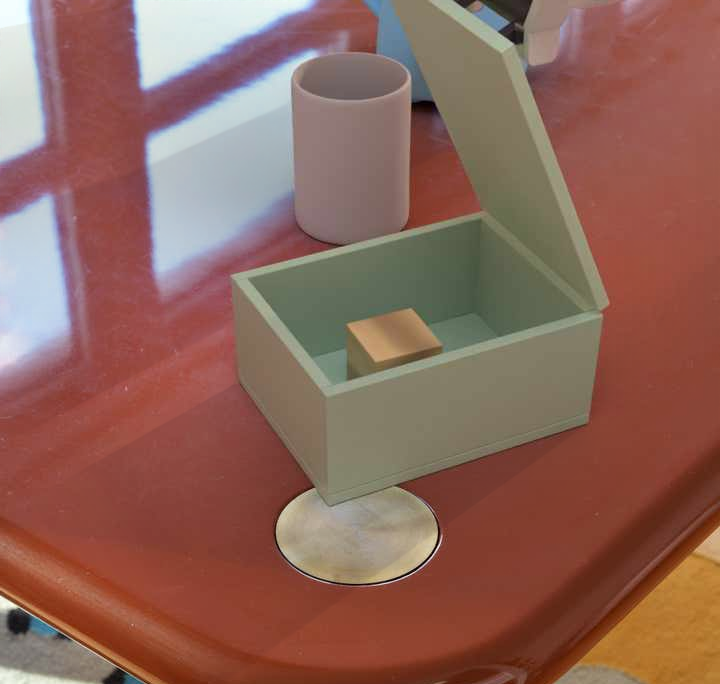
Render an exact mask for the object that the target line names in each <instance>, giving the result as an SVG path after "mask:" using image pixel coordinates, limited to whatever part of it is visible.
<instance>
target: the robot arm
mask: <svg viewBox="0 0 720 684" xmlns="http://www.w3.org/2000/svg"><path fill="white" fill-rule="evenodd" d="M625 1H627V0H533V2H532V4H531V7H530V10H529V12H528V15H527V18H526V20H525V21H521V22H517V23H515V27H514V38H515V43H514V46H515V48H516V51H517V54H518V56H519V57H520V58H521V59H523V60H524V61H525V62H527V63H528V65H530V66H531V67H536V66H537V67H538V66H540V65H545V64H550V63H552V62H554V61H555V59H556V58H557V57H558V54H559V46H560V37H561V27H563V25H564V24H565V22H566V20H567V18H568V17H569V14H570V13H571V11H572V9H573V8H574V9H576V10H590V9H594V8H599V7H600V8H601V7H605V6H609V5H613V4H618V3H622V2H625ZM483 6H484V4H482V3H481V2H479V1H478V0H476V1H475V2H473V3H472V4H471V5H469V6H468V7H467V8H465V9H466V10H467V11H468V12H470V13H475V12H479V11H480V10H481V9H482V8H483Z"/></svg>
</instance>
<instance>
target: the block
mask: <svg viewBox="0 0 720 684" xmlns="http://www.w3.org/2000/svg"><path fill="white" fill-rule="evenodd" d="M346 341H347V381H350V380H353V379H357V378H360V377H364V376H367V375H370V374H374V373H377V372H381V371H384V370H388V369H391V368H395V367H398V366H402V365H405V364H409V363H412V362H415V361H419V360H422V359H426V358H429V357H433V356H436V355H440V354H442V350H443V345H442V343H441V342H440V341H439V340H438V339H437V337H436V336H435V335H434V334H433V333H432V332H431V330H430V329H429V328H428V327H427V326H426V325H425V323H424V322H423V321H422V320H421V319H420V317H419V316H418V315H417V314H416V313H415V312H414V310H413V309H412V308H409V309H405V310H401V311H397V312H393V313H389V314H385V315H381V316H376V317H372V318H368V319H364V320H360V321H356V322H352V323H348V324H346Z"/></svg>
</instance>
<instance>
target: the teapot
mask: <svg viewBox="0 0 720 684" xmlns="http://www.w3.org/2000/svg"><path fill="white" fill-rule="evenodd" d="M361 2H362V3H363V4H364V5H365V7H367V8H368V10H369V11H370V12H371V13H372V14H373V15H374V17H375V18H376V19H377V20H378V25H377V36H376V51H375V54H376V55H381V56H385V57H388V58H391V59H393V60H395V61H397V62H399V63H401V64H402V65H404V66H405V67H406V68H407V70H408V71H409V73H410V76H411V103H418V102H422V101H429V102H435V101H434V99H433V97H432V94H431V92H430V90H429V88H428V85H427V83H426V81H425V79H424V76H423V74H422V72H421V69H420V67H419V65H418V63H417V60H416V58H415V56H414V54H413V51H412V49H411V47H410V44H409V42H408V40H407V38H406V35H405V33H404V31H403V29H402V26H401V24H400V22H399V20H398V17H397V15H396V13H395V10H394V8H393V6H392V4H391V1H390V0H361ZM471 14H473V15H474V16H476V17H477V18H478V19H480V20H481V21H483V22H484V23H485V24H487V25H488V26H490V27H491V28H493V29H494V30H495V31H497V32H498V31H499V30H501V29H502V28H503V27H505V26H506V25H508V24H509V23H510V22H509V21H507V20H506V19H504V18H503V17H501V16H500V15H498V14H497V13H495V12H494V11H493V10H491V9H490V8H488V7H487V6H485V5H484V6H483V8H482V9H481V10H480V11H479V12H475V13H471ZM514 43H515V42H514ZM518 57H519V56H518ZM519 59H520V62H521V65H522V67H523V70H524V73H525V74H526V72H527V69H528V65H529V64H528V63H527V62H525V61H524V60H523V59H521V58H520V57H519Z"/></svg>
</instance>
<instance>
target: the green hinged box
mask: <svg viewBox="0 0 720 684" xmlns="http://www.w3.org/2000/svg"><path fill="white" fill-rule="evenodd" d="M230 287H231V300H232V301H231V302H232V313H233V314H232V316H233V325H234V326H233V327H234V338H235V350H236V351H235V354H236V364H237V365H236V366H237V377H238V379H237V381H238V383H240V385H241V386H242V388H243V389H244V391H245V392H246V394H248V396H249V398H250V399H251V400H252V402H253V403H254V404H255V406H256V407H257V409H258V410H259V411H260V413H261V414H262V415H263V417H264V418H265V419H266V421H267V422H268V424H269V425H270V427H271V429H273V430H274V432H275V433H276V435H277V436H278V437H279V439H280V441H281V442H282V443H283V445H284V446H285V448H286V449H287V450H288V451H289V453H290V454H291V455H292V457H293V459H294V460H295V461H296V462H297V464H298V465H299V467H300V468H301V470H302V471H303V472H304V473H305V475H306V476H307V478H308V479H309V480H310V482H311V483H312V484H313V487H314V488H315V489H316V490H317V492H318V493H319V495H320V496H321V497H322V499H323V500H324V502H325V503H326V504H327V506H329V507H330V506H331V507H332V506H335V505H338V504H340V503H343V502H347V501H349V500H350V501H351V500H353V499H356V498H359V497H362V496H365V495H366V496H367V495H369V494H371V493H375V492H378V491H381V490H384V489H387V488H391V487H393V486H398V485H400V484H403V483H407V482H410V481H412V480H416V479H418V478H422V477H425V476H428V475H431V474H434V473H437V472H440V471H443V470H446V469H447V470H448V469H449V468H453V467H456V466H459V465H462V464H465V463H469V462H471V461H474V460H478V459H481V458H484V457H487V456H490V455H494V454H497V453H499V452H502V451H505V450H510V449H512V448H515V447H519V446H521V445H524V444H528V443H530V442H533V441H537V440H540V439H543V438H547V437H550V436H552V435H556V434H559V433H562V432H565V431H568V430H571V429H575V428H577V427H581V426H584V425H587V424H589V421H590V415H591V413H590V412H591V407H592V398H593V392H594V384H595V378H596V372H597V364H598V356H599V349H600V343H601V335H602V329H603V320H604V315H603V313H601V311H598V310H597V309H595V308H594V307H593V306H592V305H591V304H590V303H589V302H588V301H586V300H585V299H584V298H583V297H582V296H581V295H580V294H579V293H577V292H576V291H575V290H574V289H573V288H572V287H571V286H570V285H568V284H567V283H566V282H565V281H564V280H563V279H562V278H561V277H559V276H558V275H557V274H556V273H555V272H554V271H553V270H552V269H550V268H549V267H548V266H547V265H546V264H545V263H544V262H543V261H541V260H540V259H539V258H538V257H537V256H536V255H535V254H534V253H532V252H531V251H530V250H529V249H528V248H527V247H526V246H525V245H523V244H522V243H521V242H520V241H519V240H518V239H517V238H516V237H514V236H513V235H512V234H511V233H510V232H509V231H508V230H507V229H505V228H504V227H503V226H502V225H501V224H500V223H499V222H498V221H496V220H495V219H494V218H493V217H492V216H491V215H490V214H489V213H487V212H486V211H485V210H481V211H478V212H473V213H470V214H469V213H468V214H466V215H465V214H464V215H462V216H458V217H453V218H449V219H446V220H442V221H438V222H434V223H430V224H426V225H422V226H419V227H414V228H411V229H407V230H403V231H402V230H401V231H400V232H398V233H394V234H390V235H386V236H382V237H378V238H374V239H371V240H367V241H363V242H359V243H355V244H351V245H342V246H339V247H336V248H331V249H327V250H322V251H320V252H315V253H311V254H308V255H304V256H300V257H296V258H292V259H288V260H283V261H279V262H276V263H272V264H268V265H264V266H260V267H256V268H252V269H248V270H245V271H241V272H236V273H233V274H230ZM409 308H412V309H413V310H414V312H415V313H416V314H417V315H418V316H419V317H420V319H421V320H422V321H423V322H424V323H425V325H426V326H427V327H428V328H429V329H430V330H431V332H432V333H433V334H434V335H435V336H436V337H437V339H438V340H439V341H440V342H441V343H442V345H443V350H442V354H440V355H436V356H433V357H429V358H426V359H422V360H419V361H415V362H412V363H409V364H405V365H402V366H398V367H395V368H391V369H388V370H384V371H381V372H377V373H374V374H370V375H367V376H364V377H360V378H357V379H353V380H350V381H347V341H346V324H348V323H352V322H356V321H360V320H364V319H368V318H372V317H376V316H381V315H385V314H389V313H393V312H397V311H401V310H405V309H409Z"/></svg>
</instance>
